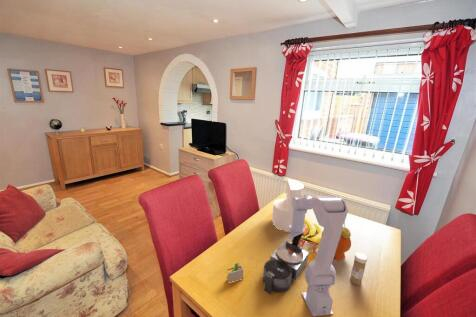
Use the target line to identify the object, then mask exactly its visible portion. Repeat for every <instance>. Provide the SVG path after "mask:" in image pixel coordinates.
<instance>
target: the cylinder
mask: <svg viewBox="0 0 476 317" xmlns="http://www.w3.org/2000/svg"><path fill="white" fill-rule="evenodd" d="M286 185H287V186H286V197H285V198H279V199H276V200H274V201H273V206H272V219H271V223H272V222H273V224H274V225H275V226H276V227H277V228H279V229H281V230H284V231H289V232H288V233H290V228H289V226H290V225H292V215H293V207H292V199H293V198H294V197H295V198H299V197H300V196H303V197H304V195H303V194H304V188H305V185H304V184H303V183H302V182H300V181H297V180H294V179H289V178H288V179H287V184H286ZM284 231H283V232H284Z"/></svg>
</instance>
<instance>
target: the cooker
mask: <svg viewBox="0 0 476 317" xmlns="http://www.w3.org/2000/svg"><path fill="white" fill-rule="evenodd" d="M281 244H286V241H283V242H282V243H281ZM302 251H303V254H304V258H303V260H302V261H301V262H300V263H296V264H291V263H287V262H285V261H283V260H281V259H280V258H279V257H278V255H277V248H276V249H275V250H274V252H272V253H271V255H270V258H269V260H267V261H265V263H264V265H263V273H262V274H263V275H262V281H263V284H264V283H265V284H264V287H263V288H264V290H263V291H264V292H265V291H266V292H265V293H267V294H269V295H270V296H271V295H272V294H273V292H274V293H279V294H280V293H282V294H283V293H285V292H287V291H289V290H290V288H291V286H292V285H291V284H292V280H293V281H294V282H297V279H298V278H299V276H300V275H301V273H302V272H303V270H305V268H306V267H305V266H306V265H308V259H309V252H308V251H306V250H303V249H302Z"/></svg>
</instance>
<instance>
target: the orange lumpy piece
mask: <svg viewBox="0 0 476 317" xmlns="http://www.w3.org/2000/svg"><path fill="white" fill-rule="evenodd" d="M343 225H344V226H343V227H342V233H341V236H340V239H339V242H338V246H337V249H336V252H335V255H334V259H335V260H337V261H338V262H339V261H341V260H344V259H345V258H346V255H345V253H347V252H348V251H350V249H351V247H352V239H351V236H352V234H351V231H350V229H349V228H347V227H346V222H344V224H343ZM322 234H323V231H322V232H321V235H322Z"/></svg>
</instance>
